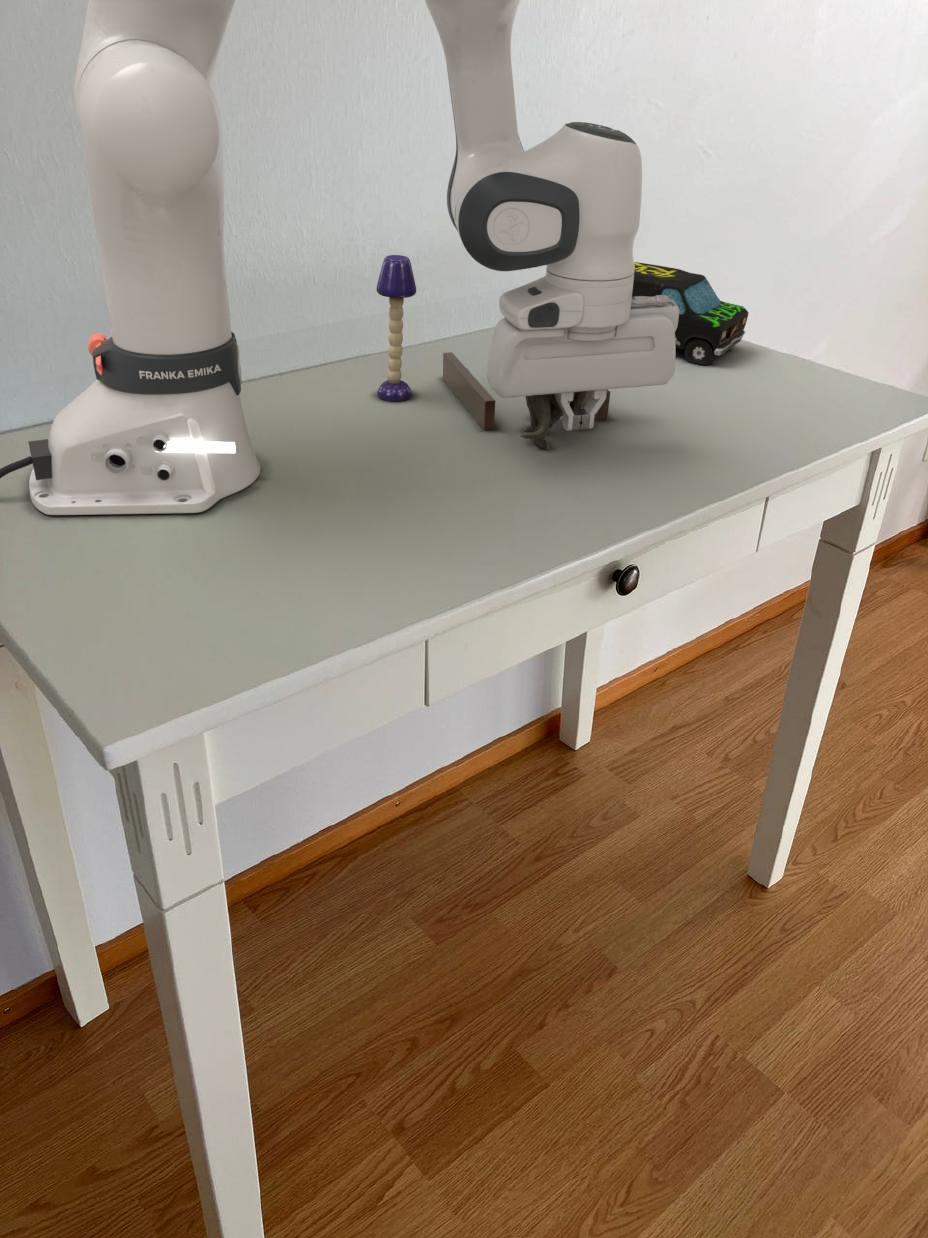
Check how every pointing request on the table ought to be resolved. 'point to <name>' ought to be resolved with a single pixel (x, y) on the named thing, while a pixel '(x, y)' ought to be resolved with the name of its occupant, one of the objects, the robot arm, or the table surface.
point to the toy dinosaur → (546, 415)
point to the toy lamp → (395, 321)
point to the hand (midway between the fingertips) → (577, 427)
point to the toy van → (693, 311)
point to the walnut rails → (485, 393)
